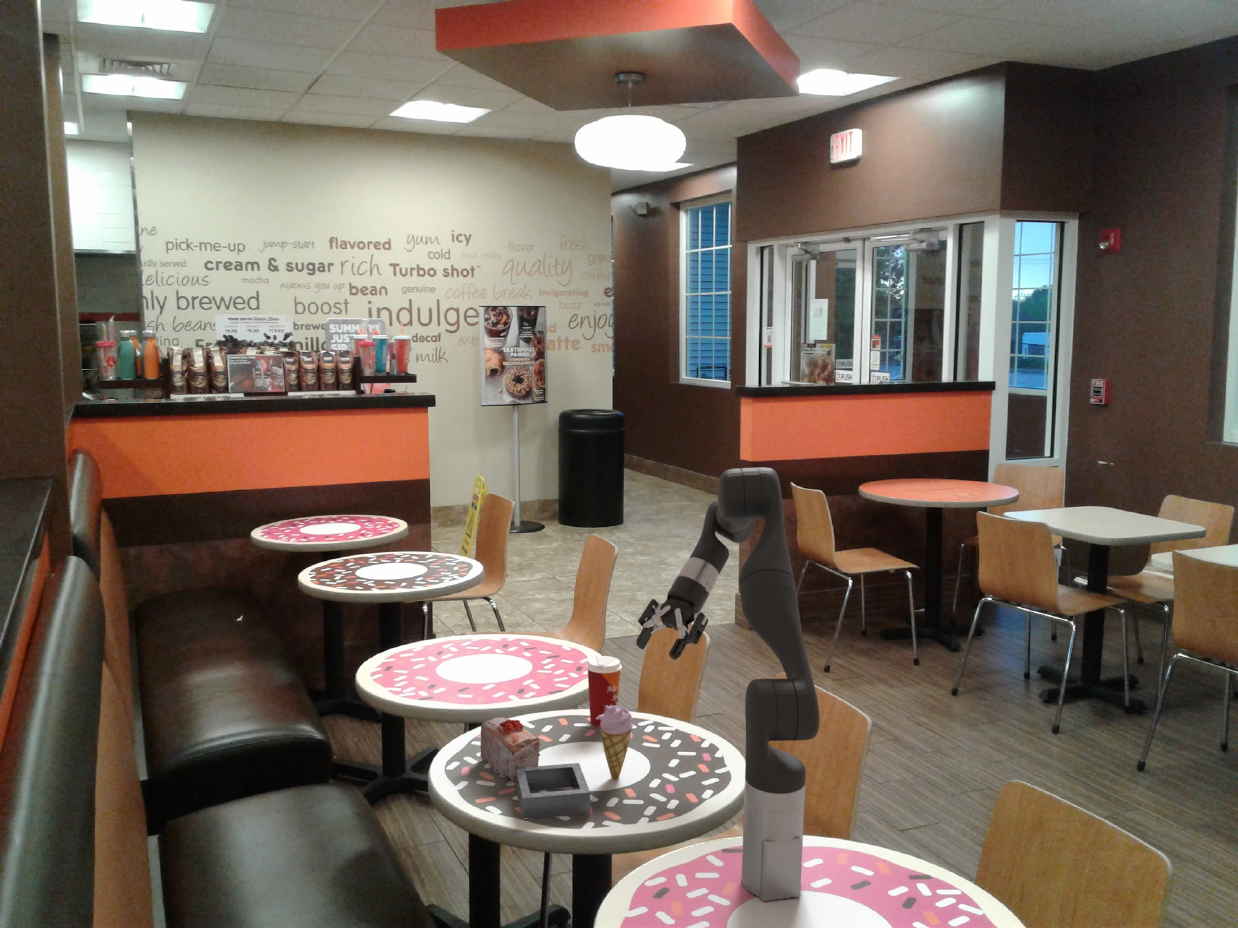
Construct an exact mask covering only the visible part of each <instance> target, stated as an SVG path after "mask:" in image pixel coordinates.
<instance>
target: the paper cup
mask: <svg viewBox="0 0 1238 928" xmlns="http://www.w3.org/2000/svg"><path fill="white" fill-rule="evenodd" d="M622 667H623V666H622V664H621V661H620V660H619V658H617V657H614V656H608V655H600V656H599V655H598V656H593V657H591V658H590V659H589V660H588V662H587V664H586V666H585V668H586V670H587V680H588V698H589V699H588V700H589V701H588V702H589V703H588V704H589V720H590V724H591V725H592V726H593V725H594V726H593V727H595V726H597V727H596V728H600V727H601V725H600V723H601V720H600V719H596V718H597V717H598V716H599V715H602V714H605V713H604V711H606V710H607V709H606V707H607V706H619V703H618V702H619V693H620V692H619V690H620V677H621V676H620V675H621V669H622Z"/></svg>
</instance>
